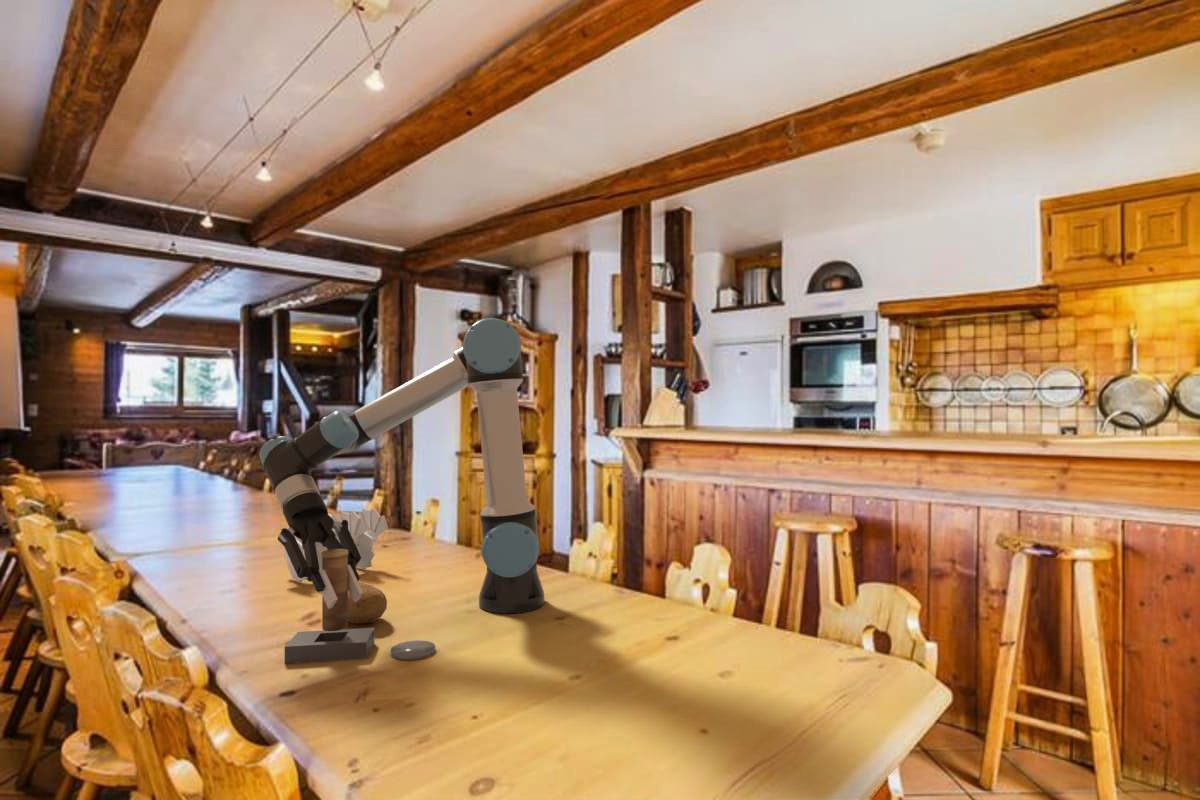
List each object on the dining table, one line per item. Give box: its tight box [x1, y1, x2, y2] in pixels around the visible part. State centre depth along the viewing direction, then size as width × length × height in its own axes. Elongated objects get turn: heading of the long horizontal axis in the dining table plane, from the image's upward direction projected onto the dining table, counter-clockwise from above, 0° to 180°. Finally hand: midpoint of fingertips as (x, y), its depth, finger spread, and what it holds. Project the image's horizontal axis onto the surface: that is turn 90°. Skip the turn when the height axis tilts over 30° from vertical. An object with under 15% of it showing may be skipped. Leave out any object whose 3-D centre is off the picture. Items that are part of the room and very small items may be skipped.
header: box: [284, 627, 375, 664], centre depth 122 cm, size 14×8×3 cm, turn 99°
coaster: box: [390, 639, 436, 661], centre depth 122 cm, size 8×8×1 cm
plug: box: [321, 549, 349, 631], centre depth 122 cm, size 5×5×14 cm
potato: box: [348, 581, 388, 624], centre depth 140 cm, size 10×14×8 cm
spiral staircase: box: [283, 507, 389, 584], centre depth 180 cm, size 18×18×25 cm
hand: (345, 600), depth 120 cm, fingers closed on plug, 4 cm apart
